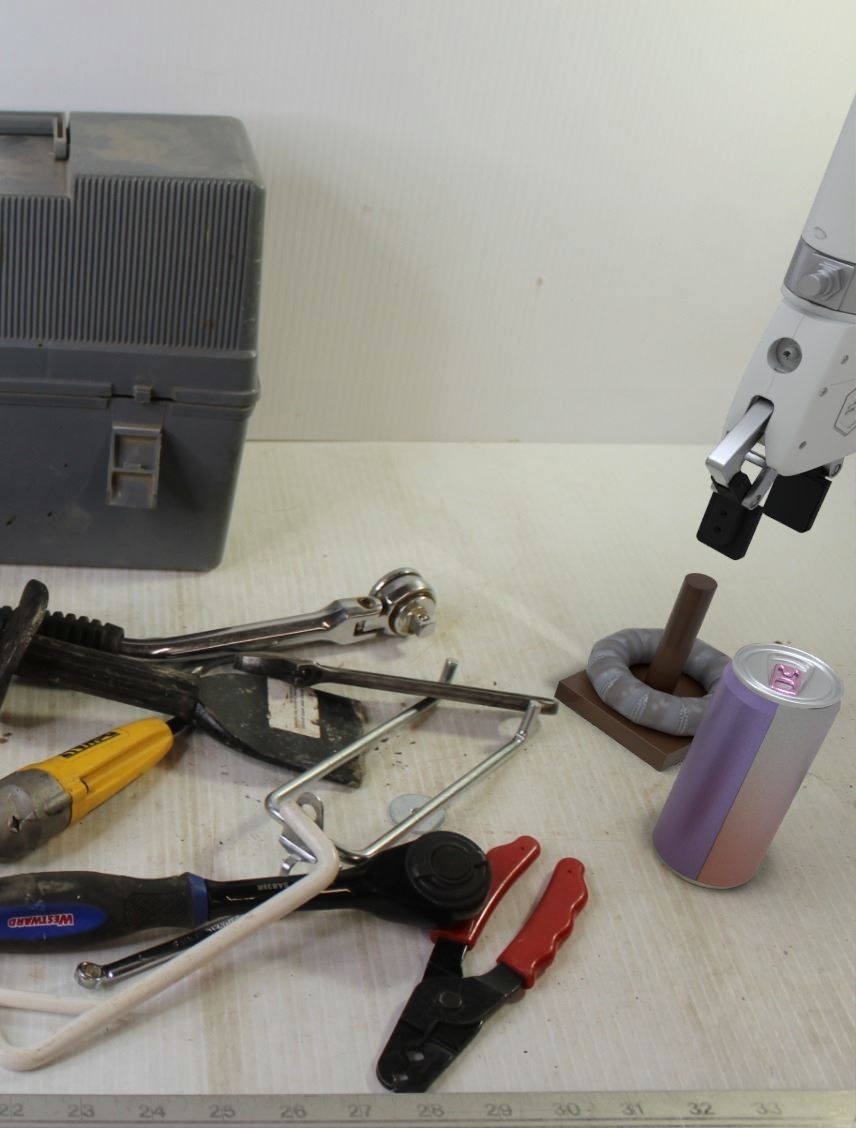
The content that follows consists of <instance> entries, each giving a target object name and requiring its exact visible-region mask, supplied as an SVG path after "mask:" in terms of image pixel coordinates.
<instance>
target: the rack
mask: <svg viewBox="0 0 856 1128" xmlns="http://www.w3.org/2000/svg"><path fill="white" fill-rule="evenodd" d="M718 584H719V583H718V582H717V580H716V579H714V578H713V577H712V576H710V575H707V574H704V573H701V572H690V573H688V574H686V575H685V576H684V579H683V581H682V582H681V585H680V589H679V592H678V594H677V596H676V599H675V601H674V604H673V606H672V608H671V611H670V614H669V617H668V618H667V622H666V624H665V627H664V628H663V629H664V631H663V634H662V636H661V639H660V642H659V644H658V647H657V649H656V652H655V654H654V657H653V659H652V662H651V664H634V665H632V666H630V667H629V670H630V671H631V673H632V674H633V676H634V677H635V678H637V679H638V680H640V681H641V682H643V683H645V684H646V685H648V686H649V687H651V688H652V689H654V690H657V691H661V692H664V693H668V694H671V695H674V696H678V697H703V696H705V695H707V694H708V693H707V691H706V690H705V688H704V687H703V686H702V684H701V683H699V682H698V681H696V680H695V679H693V678H691V677H690V676H688V675H687V674H685V673H683V672H682V671H683V669H684V666H685V664H686V662H687V659H688V657H689V654H690V652H691V650H692V647H693V645H694V642H695V640H696V638H698V635H699V633H700V630H701V628H702V625H703V623H704V620H705V619H706V615H707V613H708V610H709V609H710V606H711V603H712V601H713V599H714V596H715V594H716V591H717V589H718V586H719V585H718ZM553 697H554V698H556V699H557V700H558V701H560V702H561V703H563V704H564V705H565V706H566V707H568V708H570V709H571V710H572V711H573V712H574V713H576V714H578V715H579V716H581V717H582V718H584V719H585V720H587V721H588V722H589V723H590V724H592V725H593V726H595V727H596V728H598V729H599V730H600V731H602V733H605V734H606V735H607V736H609V737H611V738H612V739H613V740H614V741H616V742H617V743H619V744H620V745H622V746H623V747H624V748H626V749H627V750H628V751H630V752H631V753H633V754H634V755H636V756H637V757H638V758H640V759H641V760H643V761H644V762H646V763H647V764H648V765H650V766H651V767H652V768H654V769H655V770H656V771H658V772H661V771H664V770H666V769H668V768H670V767H672V766H674V765H676V764H679V763H680V762H683V761H684V759H685V757H686V754H687V752H688V750H689V748H690V745H691V743H692V741H693V738H694V736H676V735H671V734H668V733H664V732H661V731H658V730H655V729H651V728H648V727H645V726H642V725H639V724H636V723H634V722H632V721H631V720H629V719H628V718H626V717H625V716H623V715H622V714H620V713H619V712H617V711H616V710H614V709H613V708H611V707H610V706H608V705H607V704H605V703H604V702H603V701H602V700H601V698H600V697H599V695H598V693H597V692H596V690H595V688H594V687H593V685H592V684H591V682H590V680H589V679H588V676H587V673H586V668H585V669H582V670H580V671H578V672H576V673H574V674H571V675H568V676H566V677H565V678H562V679H560V680H558V683H557V686H556V689H555V692H554V695H553Z"/></svg>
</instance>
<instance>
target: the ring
mask: <svg viewBox="0 0 856 1128" xmlns="http://www.w3.org/2000/svg"><path fill="white" fill-rule="evenodd" d="M664 629H665V628H662V627H628V628H622V629H620V630H618V631H616V632H613V633H611V634H609V635H607V636H605V637H602V638H600V639H599V640H597V641H596V642H595V643H594V644H593V646H592V649H591V650H590V654H589V658H588V660H587V663H586V664H587V665H586V668H585V669H586V673H587V676H588V679H589V680H590V682H591V684H592V685H593V687H594V688H595V690H596V692H597V693H598V695H599V697H600V698H601V700H602V701H603V702H604V703H605V704H607V705H608V706H610V707H611V708H613V709H614V710H616V711H617V712H619V713H620V714H622V715H623V716H625V717H626V718H628V719H629V720H631V721H632V722H634V723H636V724H639V725H642V726H645V727H648V728H651V729H655V730H658V731H661V732H664V733H668V734H671V735H676V736H695V734H696V732H697V729H698V727H699V725H700V723H701V720H702V718H703V716H704V713H705V711H706V709H707V707H708V704H709V702H710V700H711V697H712V695H713V693H714V691H715V688H716V686H717V684H718V681H719V679H720V677H721V675H722V672H723V670H724V668H725V666H726V665H727V664H728V663H729V662H730V661H731V660H732V659H733V657H731V656H729V655H727V654H726V653H725V652H722V651H721V650H719V649H717V648H716V647H714V646H713V645H711V644H709V643H707V642H706V641H704V640H702V639H700V638H698V637H697V638H696V640H695V642H694V645H693V647H692V650H691V652H690V654H689V657H688V659H687V662H686V664H685V666H684V669H683V671H682V672H683V673H685V674H687V675H688V676H690V677H691V678H693V679H695V680H696V681H698V682H699V683H701V684H702V686H703V687H704V688H705V690H706V691H707V693H708V694H707V695H705V696H703V697H678V696H674V695H671V694H668V693H664V692H661V691H657V690H654V689H652V688H651V687H649V686H648V685H646V684H645V683H643V682H641V681H640V680H638V679H637V678H635V677H634V676H633V674H632V673H631V671H630V670H629V667H630V666H632V665H634V664H651V662H652V659H653V657H654V654H655V652H656V649H657V647H658V644H659V642H660V639H661V636H662V634H663V631H664Z"/></svg>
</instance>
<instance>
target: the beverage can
mask: <svg viewBox="0 0 856 1128" xmlns="http://www.w3.org/2000/svg"><path fill="white" fill-rule="evenodd" d="M844 693H845V684H844V681H843V679H842V677H841V676H840V674H839V673H838V672H837V671H836V670H835V669H834V668H833V667H832V666H831V665H829V664H828V663H827V662H826V661H824V660H822V659H821V658H819V657H817V656H816V655H814V654H811V653H810V652H808V651H805V650H802V649H799V648H796V647H793V646H789V645H786V644H780V643H774V642H773V643H772V642H756V643H750V644H747V645H744V646H742V647H741V648H739V649H738V650H737V651H736V652H735V653H734V654H733V656H732V660H731V661H730V662H729V663H728V664H727V665H726V666H725V668H724V670H723V672H722V675H721V677H720V679H719V681H718V684H717V686H716V688H715V691H714V693H713V695H712V697H711V700H710V702H709V704H708V707H707V709H706V711H705V713H704V716H703V718H702V720H701V723H700V725H699V727H698V729H697V732H696V734H695V736H694V738H693V741H692V743H691V745H690V748H689V750H688V752H687V754H686V757H685V759H684V760H682V764H681V765H680V768H679V770H678V772H677V775H676V777H675V780H674V781H673V784H672V786H671V788H670V791H669V794H668V795H667V798H666V800H665V803H664V804H663V807H662V809H661V811H660V814H659V816H658V818H657V821H656V822H655V825H654V827H653V829H652V834H651V838H652V840H651V841H652V845H653V847H654V850H655V853H656V855H657V856H658V858H659V860H660V862H662V864H663V865H664V866H665V867H666V868H667V870H669V871H670V872H672V873H673V874H674V875H675V876H677V877H679V878H680V879H682V880H684V881H685V882H688V883H690V884H693V885H695V886H698V887H702V888H706V889H711V890H726V889H732V888H735V887H739V886H742V885H744V884H746V883H747V882H749V881H751V880H752V879H753V878H754V876H755V875H756V873H757V871H758V869H759V867H760V865H761V863H762V861H763V859H764V857H765V856H766V854H767V852H768V850H769V848H770V846H771V844H772V842H773V840H774V838H775V836H776V834H777V832H778V830H779V828H780V827H781V824H782V823H783V821H784V819H785V817H786V815H787V813H788V811H789V809H790V807H791V806H792V804H793V801H794V799H795V797H796V795H797V794H798V792H799V789H800V788H801V786H802V784H803V782H804V780H805V779H806V776H807V774H808V772H809V770H810V769H811V766H812V764H813V763H814V760H815V759H816V757H817V755H818V753H819V752H820V751H819V750H820V749H821V748H822V745H823V743H824V741H825V739H826V737H827V735H828V733H830V730H831V728H832V726H833V724H834V722H835V720H836V718H837V716H838V714H839V712H840V710H841V705H842V703H841V702H842V697H843V695H844Z"/></svg>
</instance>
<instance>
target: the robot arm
mask: <svg viewBox="0 0 856 1128" xmlns="http://www.w3.org/2000/svg"><path fill="white" fill-rule="evenodd" d="M779 291H780V293H781V294H782V296H783V297H782V299H781V300H780V301H779V303H778V306H777V307H776V309H775V311H774V312H773V314H772V316H771V318H770V319H769V321H768V323H767V325H766V328H765V330H764V331H763V333H762V335H761V337H760V339H759V341H758V343H757V345H756V347H755V349H754V352H753V354H752V356H751V358H750V359H749V362H748V364H747V366H746V368H745V371H744V373H743V375H742V377H741V380H740V382H739V385H738V387H737V388H736V392H735V394H734V396H733V399H732V402H731V404H730V406H729V409H728V412H727V414H726V417H725V421H724V424H723V427H722V431H721V441H720V442H719V443H718V444H717V445H716V446H715V448H713V449H712V451H711V452H710V453H709V454H708V455H707V457H706V459H705V461H704V465H705V467H706V468H707V471H708V472H709V474H710V480H711V484H710V490H711V491H712V493H711V496H710V498H709V501H708V503H707V506H706V508H705V511H704V513H703V516H702V519H701V521H700V524H699V527H698V529H697V532H696V534H695V536H696V537H695V538H696V540H697V541H698V542H700V543H701V544H703V545H705V546H707V547H709V548H710V549H712V550H714V551H716V552H717V553H720V554H721V555H723V556H725V557H727V558H728V559H730V560H733V561H738V560H741V559H743V558H745V556H746V554H747V553H748V550H749V547H750V545H751V543H752V540H753V538H754V536H755V533H756V531H757V528H758V527H759V524H760V521H761V519H762V516H763V515H764V516H766V517H768V518H770V519H772V520H774V521H776V522H778V523H780V524H782V525H783V526H785V527H788V528H790V529H791V530H793V531H795V532H797V533H799V534H804V533H807V532H809V531H811V530H812V528H813V526H814V523H815V521H816V519H817V516H818V514H819V512H820V510H821V508H822V506H823V503H824V501H825V499H826V496H827V495H828V493H829V490H830V488H831V486H832V483H833V481H832V480H830V479H834V478H835V477H836V476H838V475H839V473H840V472H841V470H842V469H843V466H844V462H845V457H848V456H850V455H853V454H855V453H856V92H855V93H854V96H853V98H852V101H851V104H850V106H849V109H848V111H847V114H846V117H845V119H844V121H843V124H842V127H841V130H840V132H839V135H838V136H837V140H836V142H835V145H834V147H833V150H832V153H831V155H830V157H829V160H828V163H827V165H826V169H825V171H824V172H823V176H822V179H821V181H820V183H819V187H818V189H817V192H816V194H815V197H814V200H813V203H812V205H811V207H810V209H809V212H808V214H807V218H806V220H805V223H804V225H803V228H802V230H801V234H800V236H799V239H798V241H797V244H796V246H795V249H794V252H793V255H792V257H791V260H790V262H789V265H788V268H787V270H786V272H785V275H784V277H783V279H782V282H781V285H780V290H779ZM756 444H759V445H761V446H764V453H765V454H761V453H759V452H757V451H755V450H753V449H754V447H755V446H756ZM745 462H749V463H750V464H753V465H755V466H756V467H759V468H761V469H760V471H759V472H758V475H757V476H756V477H755V479H754V481H753V482H751V480H750V477H749V475H748V474H747V473H745V472H743V471H742V466H743V465H744V464H745ZM828 478H829V479H828ZM768 491H769V492H768ZM767 492H768V494H767ZM766 494H767V497H766V498H765V501H764V503H763V505H761V504H760V503H761V502H762V500H763V499H764V497H765V495H766Z"/></svg>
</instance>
